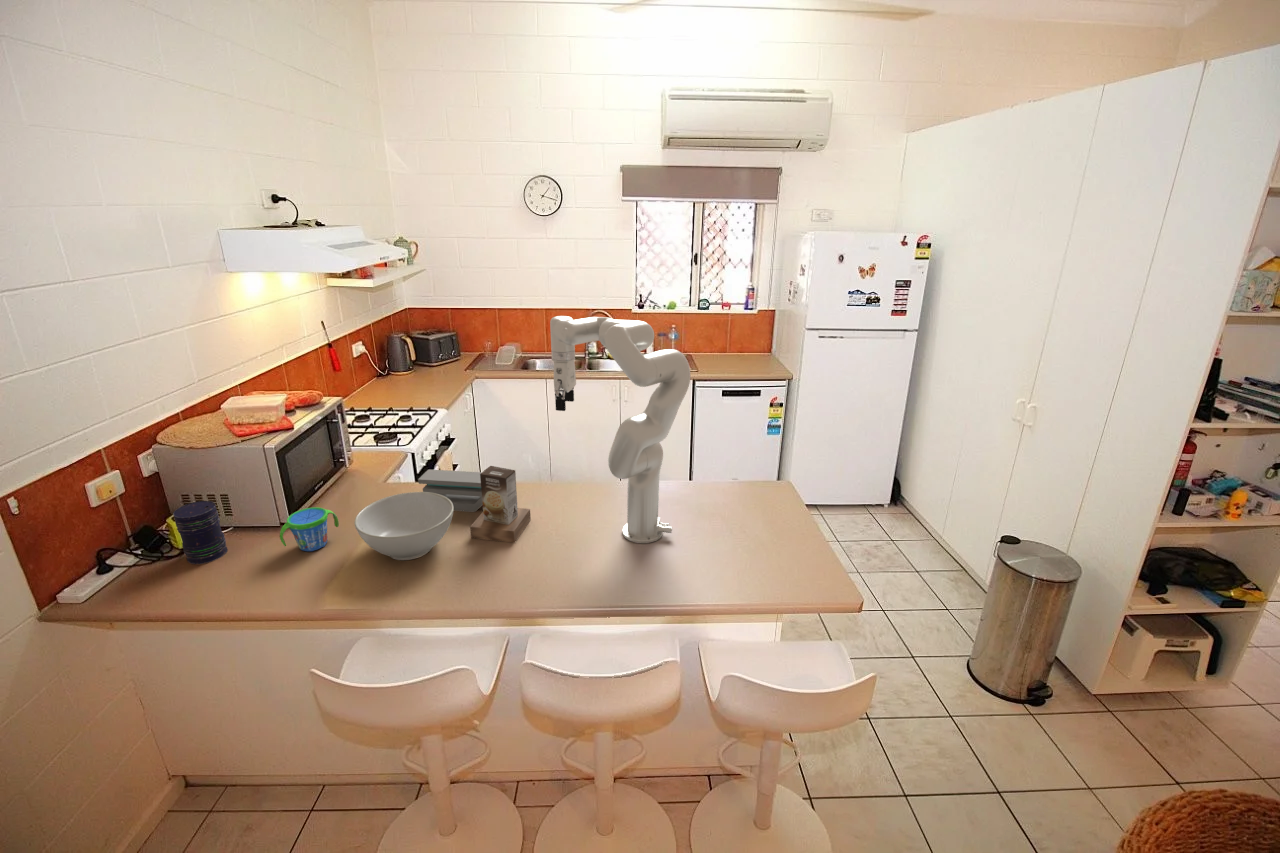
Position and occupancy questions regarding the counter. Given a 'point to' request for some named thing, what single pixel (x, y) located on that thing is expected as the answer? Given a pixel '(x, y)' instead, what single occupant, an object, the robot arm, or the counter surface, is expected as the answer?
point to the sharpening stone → (455, 487)
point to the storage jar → (200, 532)
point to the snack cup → (309, 528)
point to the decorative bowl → (405, 523)
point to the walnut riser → (500, 528)
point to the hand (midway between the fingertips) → (565, 405)
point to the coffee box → (499, 494)
